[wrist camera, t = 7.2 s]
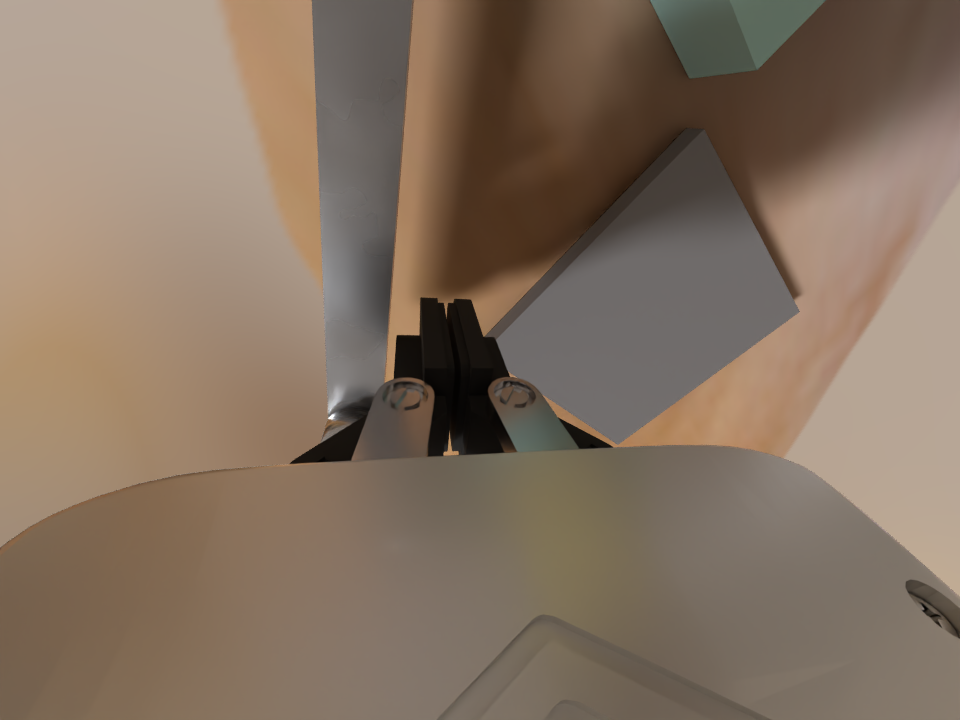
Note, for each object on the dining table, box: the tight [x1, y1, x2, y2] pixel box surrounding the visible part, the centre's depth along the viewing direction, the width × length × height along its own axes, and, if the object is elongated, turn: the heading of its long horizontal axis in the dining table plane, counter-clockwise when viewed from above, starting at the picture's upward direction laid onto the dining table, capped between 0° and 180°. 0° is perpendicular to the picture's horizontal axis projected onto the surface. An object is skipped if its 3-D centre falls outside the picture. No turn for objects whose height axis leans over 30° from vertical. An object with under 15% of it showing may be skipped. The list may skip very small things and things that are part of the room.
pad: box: [485, 128, 800, 445], centre depth 18 cm, size 12×12×1 cm
